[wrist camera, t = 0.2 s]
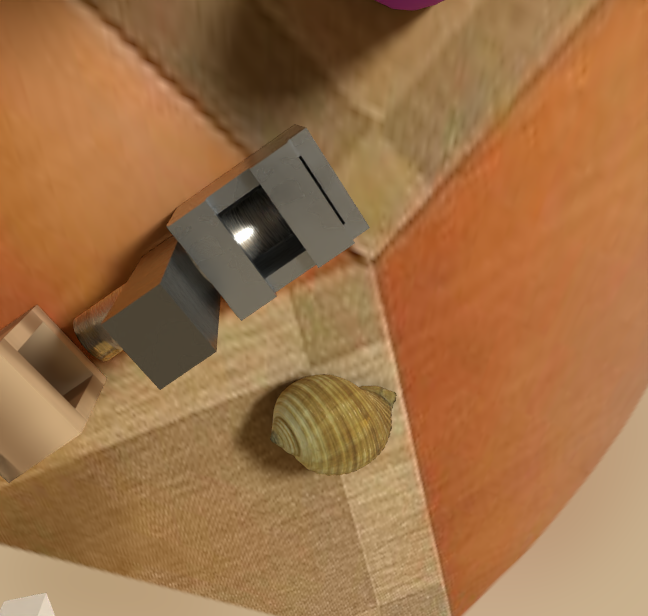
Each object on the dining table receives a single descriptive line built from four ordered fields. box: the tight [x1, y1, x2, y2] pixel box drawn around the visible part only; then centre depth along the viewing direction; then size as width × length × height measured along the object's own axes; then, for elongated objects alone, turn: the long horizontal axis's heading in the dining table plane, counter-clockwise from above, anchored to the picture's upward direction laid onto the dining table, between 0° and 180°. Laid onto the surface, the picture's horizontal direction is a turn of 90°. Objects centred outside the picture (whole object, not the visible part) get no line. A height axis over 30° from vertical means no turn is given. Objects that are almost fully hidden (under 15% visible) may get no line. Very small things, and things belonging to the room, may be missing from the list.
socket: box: [0, 305, 107, 483], centre depth 34 cm, size 5×7×7 cm
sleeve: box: [166, 124, 370, 321], centre depth 33 cm, size 9×6×7 cm
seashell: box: [270, 374, 397, 476], centre depth 40 cm, size 10×7×8 cm
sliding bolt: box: [73, 188, 293, 390], centre depth 31 cm, size 16×4×12 cm, turn 123°
